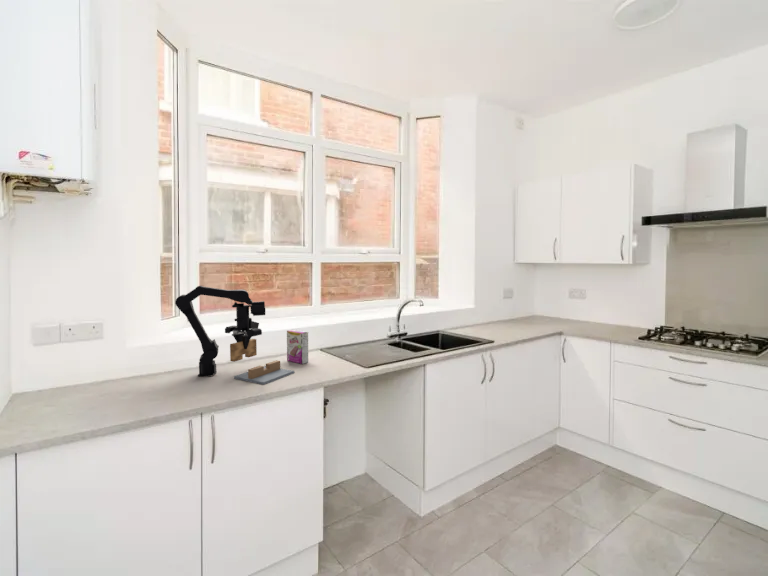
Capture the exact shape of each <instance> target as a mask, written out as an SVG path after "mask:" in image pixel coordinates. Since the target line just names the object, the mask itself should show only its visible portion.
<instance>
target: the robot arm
mask: <svg viewBox="0 0 768 576" xmlns="http://www.w3.org/2000/svg"><path fill="white" fill-rule="evenodd" d="M200 296H206V297H207V296H209V297H216V298H223V299H229V300H232V301H235V302H234V303H233V304H232V305H231V308H235V311H236V312H235V313H236V318H234V321H235V322H236V325H229V326H226V327H225V328H224V333H225V334H231V332H232V334H231V336H233V338H234V340H235V342H236V343H237V342H241V341H243V345H244V349H247V347H248V344H249V341H250V339H252V337H256V336H262V335H263V330H262V328H259V326H260V322H256V321H254V320H252V317H250V314H252V316H253V317H255V316H257V317H258V316H266V305H265V301H264V300H262V301H253V300H252V298H250V295H249V292H248V291H247V290H245V289H225V288H224V289H222V288H215V287H209V286H203V285H198V286H196V287H195V288H194V289H192V290H191V291H189V292H188V293H186V294H181V295H179V296H178V297H177V298H176V299H175V306H176V307H177V308H178V309H179V310H180V312H181V313H182V314H183V315H184V316H185V317H186V319H187V320H188V322H189V324H190V326H191V328H192V329H193V330H194V332H195V335H196V337H197V338H198V340H199V342H200V346H201V349H202V351H203V353H202V354H201V355H200V357H199V359H198V374H197V376H198V377H212V376H215V374H216V373H217V364H216V360H215V359H216V358H217V357H218V353H219V345H218V344H217V341H216V339H211V338H210V337H209V335H208V333H207V331H206V330H205V328H204V327H203V324H202V323H201V320H200V319H199V317H198V315H197V314H196V312H195V308H194V305H193V302H192V301H194V300H195V299H197V298H198V297H200Z"/></svg>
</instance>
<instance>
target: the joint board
mask: <svg viewBox="0 0 768 576" xmlns="http://www.w3.org/2000/svg"><path fill="white" fill-rule="evenodd" d="M294 373H295V370H292V369H287V368H281V360H278V359H277V360H276V359H275V360H272V361H270V362H267V363H265V365H257V366H254V367H251V368H248V370H247V371H245V372H243V373H242V372H241V373H239V374H237V375H234V376H233V379H236V380H241V381H246V382H250V383H255V384H259V385H266V384H270V383H272V382H274V381H277V380H279V379H282V378H285V377H287V376H289V375H292V374H294Z"/></svg>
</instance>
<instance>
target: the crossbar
mask: <svg viewBox="0 0 768 576" xmlns="http://www.w3.org/2000/svg"><path fill="white" fill-rule="evenodd" d="M257 354H258V353H257V338H251V339H250V341H249V344H248V347H247V349H244V345H243V341H241V342H237V341H236V342H233V343H230V344H229V356H230V357H229V358H230V360H229V361H230V362H238V361H241V360H243V358H251V357H255V356H257ZM243 356H244V357H243Z"/></svg>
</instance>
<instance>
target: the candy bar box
mask: <svg viewBox="0 0 768 576" xmlns="http://www.w3.org/2000/svg"><path fill="white" fill-rule="evenodd" d="M286 361H287V362H291V363H296V364H300V365H305V364H307V363H309V332H308V331H304V330H300V329H299V330H298V329H289V330H286Z"/></svg>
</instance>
